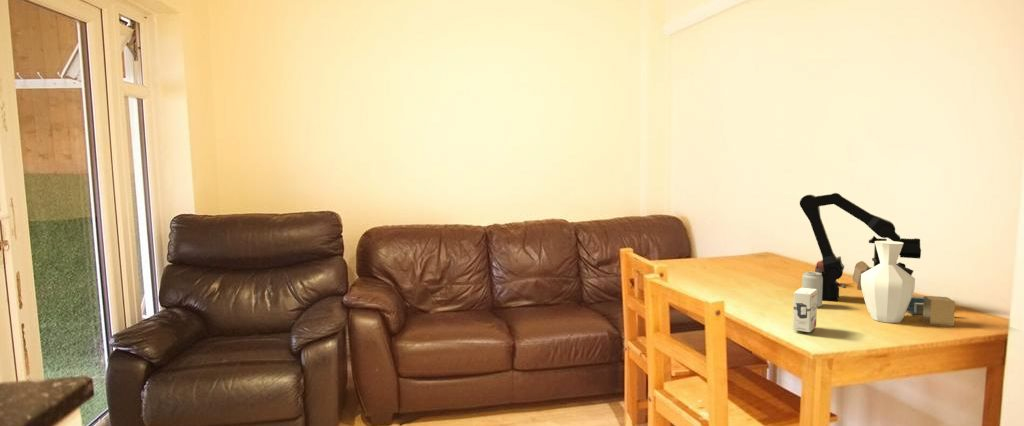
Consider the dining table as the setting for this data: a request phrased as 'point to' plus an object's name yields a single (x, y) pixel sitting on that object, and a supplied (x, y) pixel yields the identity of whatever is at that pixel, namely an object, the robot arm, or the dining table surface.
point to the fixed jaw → (918, 308)
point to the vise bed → (912, 311)
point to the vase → (887, 285)
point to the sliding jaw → (916, 301)
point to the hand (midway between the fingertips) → (881, 300)
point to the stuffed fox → (820, 268)
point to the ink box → (805, 309)
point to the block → (938, 311)
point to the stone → (859, 273)
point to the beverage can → (813, 284)
